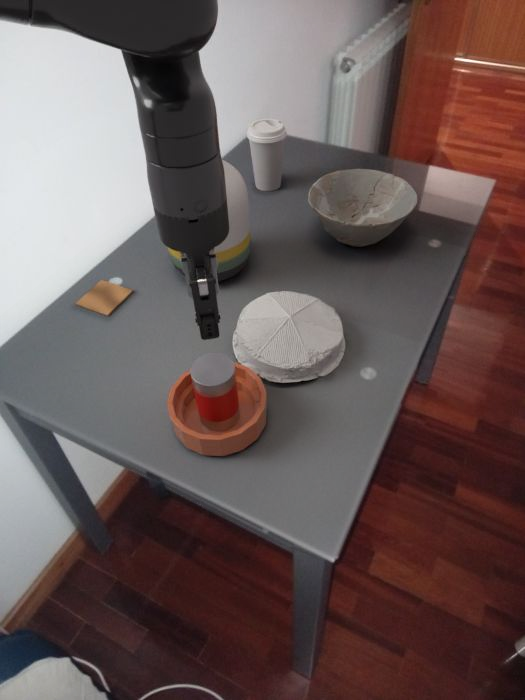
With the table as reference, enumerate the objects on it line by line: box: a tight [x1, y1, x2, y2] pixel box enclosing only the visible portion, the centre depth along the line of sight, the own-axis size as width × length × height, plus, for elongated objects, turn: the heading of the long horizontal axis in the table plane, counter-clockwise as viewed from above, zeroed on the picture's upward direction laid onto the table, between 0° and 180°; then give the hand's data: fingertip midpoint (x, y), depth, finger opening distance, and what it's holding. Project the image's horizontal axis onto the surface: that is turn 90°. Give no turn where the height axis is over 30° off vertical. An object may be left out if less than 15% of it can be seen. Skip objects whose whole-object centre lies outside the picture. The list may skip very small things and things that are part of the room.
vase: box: [166, 159, 252, 282], centre depth 95 cm, size 17×17×24 cm
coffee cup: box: [246, 118, 288, 192], centre depth 120 cm, size 10×10×15 cm
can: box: [189, 351, 240, 431], centre depth 72 cm, size 6×6×11 cm
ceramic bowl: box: [307, 168, 418, 247], centre depth 106 cm, size 22×23×10 cm
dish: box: [166, 361, 268, 457], centre depth 75 cm, size 15×15×5 cm
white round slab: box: [232, 290, 346, 384], centre depth 85 cm, size 20×20×7 cm
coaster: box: [75, 279, 134, 317], centre depth 97 cm, size 8×8×1 cm
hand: (206, 313), depth 61 cm, fingers open, 8 cm apart
